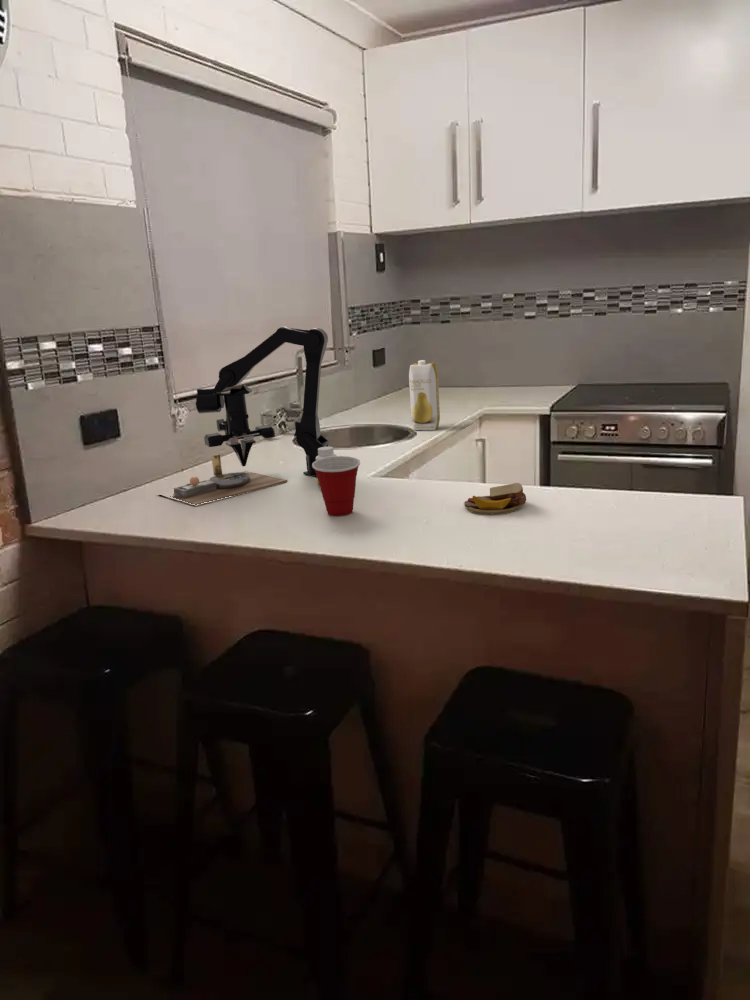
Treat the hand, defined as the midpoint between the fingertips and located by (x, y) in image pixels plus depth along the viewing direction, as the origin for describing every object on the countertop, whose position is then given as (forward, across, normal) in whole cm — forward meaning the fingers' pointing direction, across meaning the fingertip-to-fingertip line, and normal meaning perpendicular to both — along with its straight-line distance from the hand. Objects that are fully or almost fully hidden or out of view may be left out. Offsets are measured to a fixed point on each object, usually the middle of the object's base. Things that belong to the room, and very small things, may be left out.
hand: (243, 466), depth 211 cm
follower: (+2, +15, +11) cm, 19 cm away
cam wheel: (+2, +7, +7) cm, 10 cm away
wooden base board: (+3, +9, +9) cm, 13 cm away
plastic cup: (+4, -8, +50) cm, 51 cm away
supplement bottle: (+4, -15, +26) cm, 30 cm away
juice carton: (+4, -73, -27) cm, 78 cm away
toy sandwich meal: (+5, -38, +68) cm, 78 cm away
